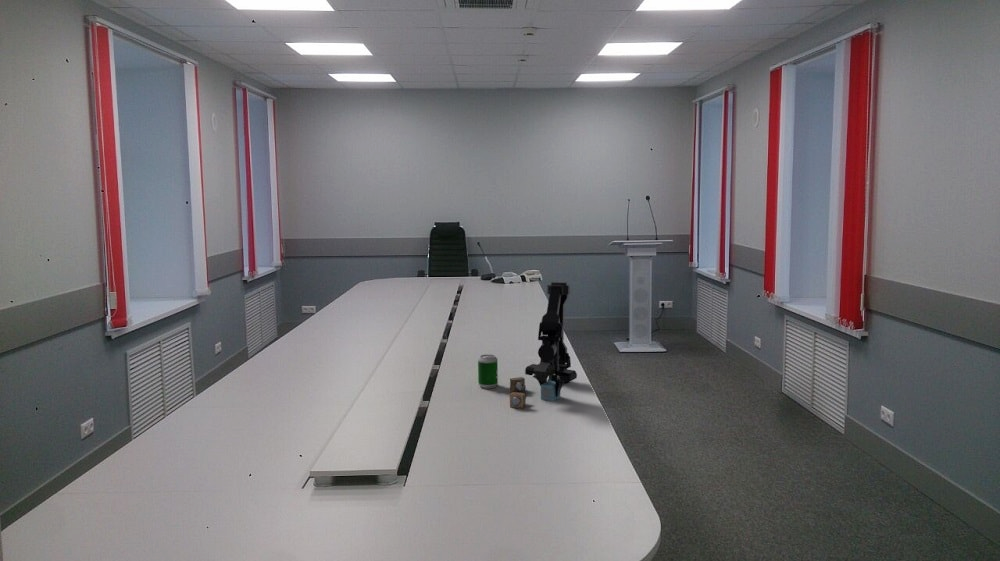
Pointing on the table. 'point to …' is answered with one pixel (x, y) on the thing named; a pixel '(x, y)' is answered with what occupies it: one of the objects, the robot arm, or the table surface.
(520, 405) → the shaft
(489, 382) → the soda can
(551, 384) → the light blue block
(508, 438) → the table surface
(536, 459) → the table surface
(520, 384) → the shaft
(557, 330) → the robot arm
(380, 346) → the table surface
